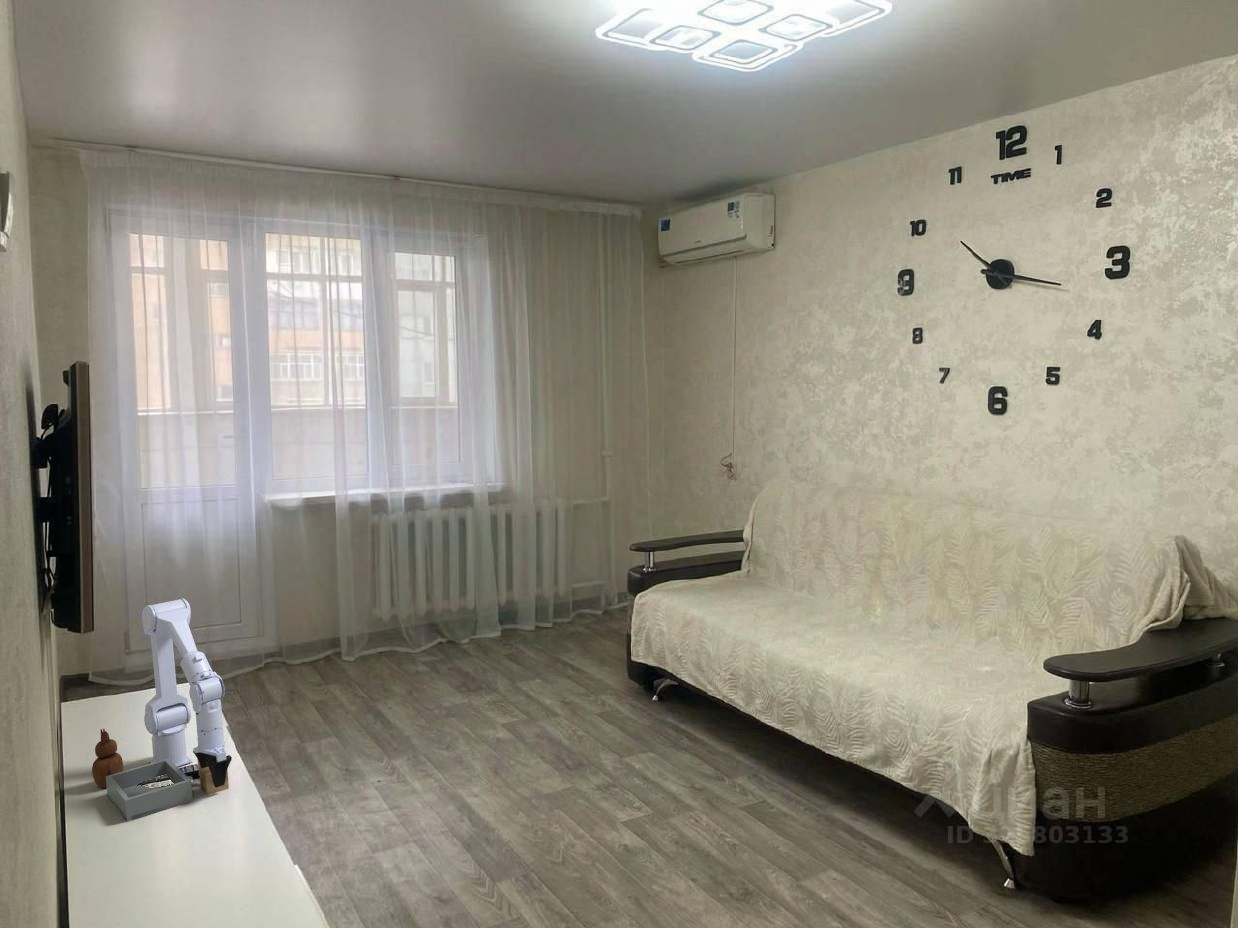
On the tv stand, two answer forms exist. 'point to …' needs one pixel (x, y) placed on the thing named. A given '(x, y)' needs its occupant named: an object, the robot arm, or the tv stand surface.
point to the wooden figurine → (106, 760)
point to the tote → (148, 790)
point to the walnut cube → (210, 782)
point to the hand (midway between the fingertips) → (214, 780)
